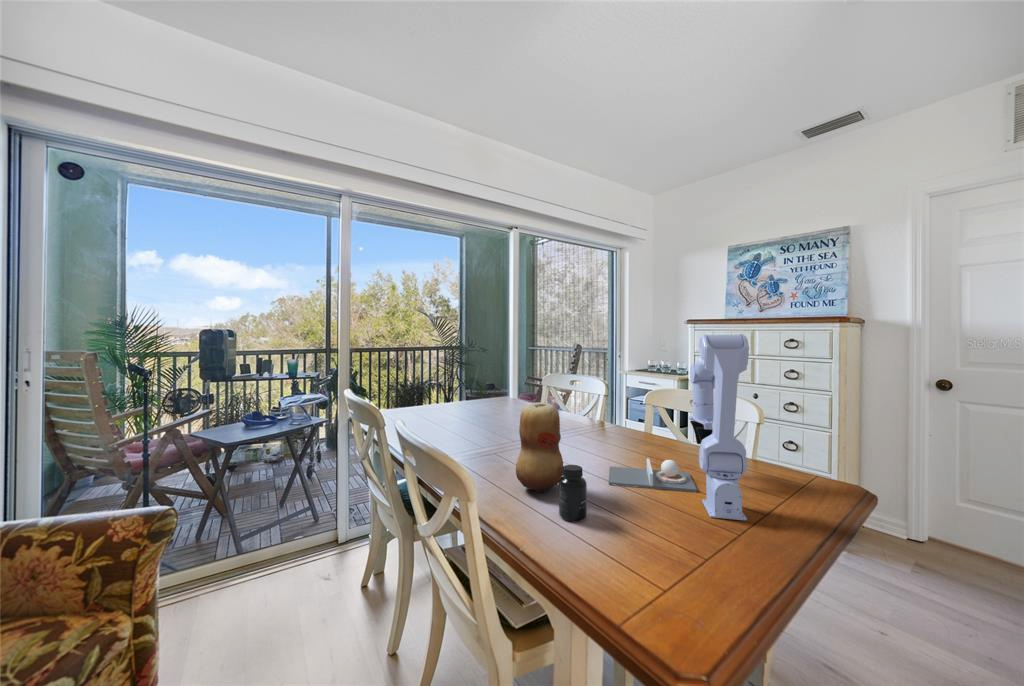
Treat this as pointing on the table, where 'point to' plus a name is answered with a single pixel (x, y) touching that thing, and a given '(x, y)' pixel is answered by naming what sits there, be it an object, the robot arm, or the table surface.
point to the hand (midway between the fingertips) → (703, 447)
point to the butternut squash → (539, 447)
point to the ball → (670, 468)
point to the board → (651, 478)
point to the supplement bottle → (572, 494)
